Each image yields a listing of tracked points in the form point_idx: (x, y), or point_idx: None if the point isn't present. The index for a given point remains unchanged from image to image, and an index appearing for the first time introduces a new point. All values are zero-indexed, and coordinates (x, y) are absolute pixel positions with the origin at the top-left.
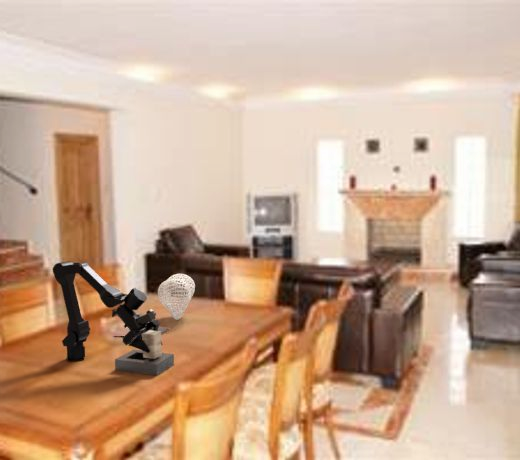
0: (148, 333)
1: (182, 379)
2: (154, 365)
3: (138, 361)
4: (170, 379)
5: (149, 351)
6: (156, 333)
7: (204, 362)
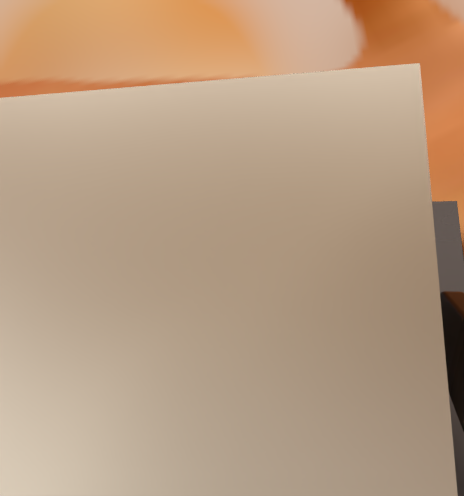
0: (306, 458)
1: (413, 47)
2: (453, 234)
3: (458, 477)
4: (451, 112)
5: (461, 297)
6: (195, 98)
7: (75, 88)
